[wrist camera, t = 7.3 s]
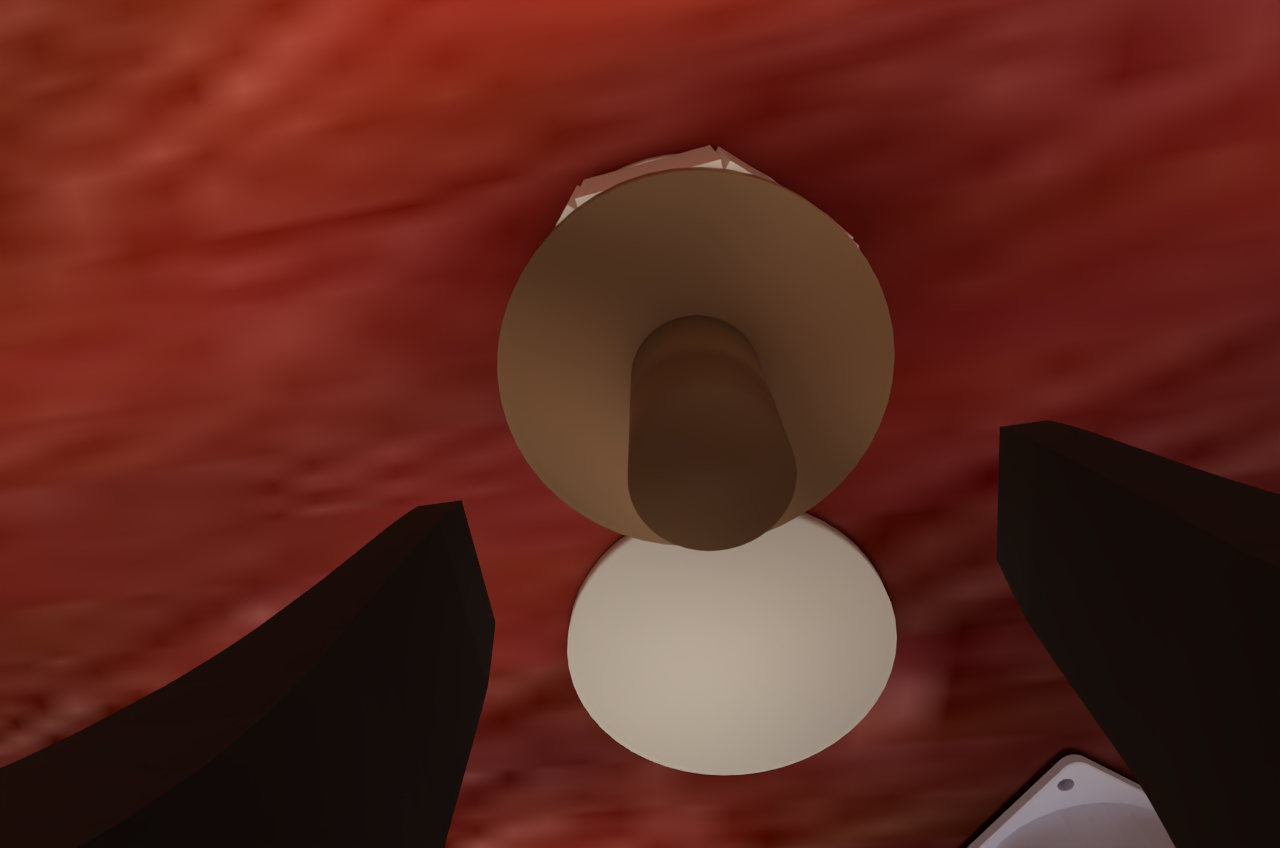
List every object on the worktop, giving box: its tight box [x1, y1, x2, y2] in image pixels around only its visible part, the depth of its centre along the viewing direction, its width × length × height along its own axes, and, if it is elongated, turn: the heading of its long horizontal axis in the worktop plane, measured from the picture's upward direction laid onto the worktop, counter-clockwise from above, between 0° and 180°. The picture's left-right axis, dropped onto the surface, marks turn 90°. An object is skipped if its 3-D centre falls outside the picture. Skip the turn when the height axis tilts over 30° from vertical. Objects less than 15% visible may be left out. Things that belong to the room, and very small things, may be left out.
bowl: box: [555, 145, 859, 248], centre depth 19 cm, size 8×8×4 cm
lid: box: [497, 167, 895, 551], centre depth 15 cm, size 8×8×5 cm
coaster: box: [567, 513, 897, 775], centre depth 24 cm, size 10×10×1 cm
